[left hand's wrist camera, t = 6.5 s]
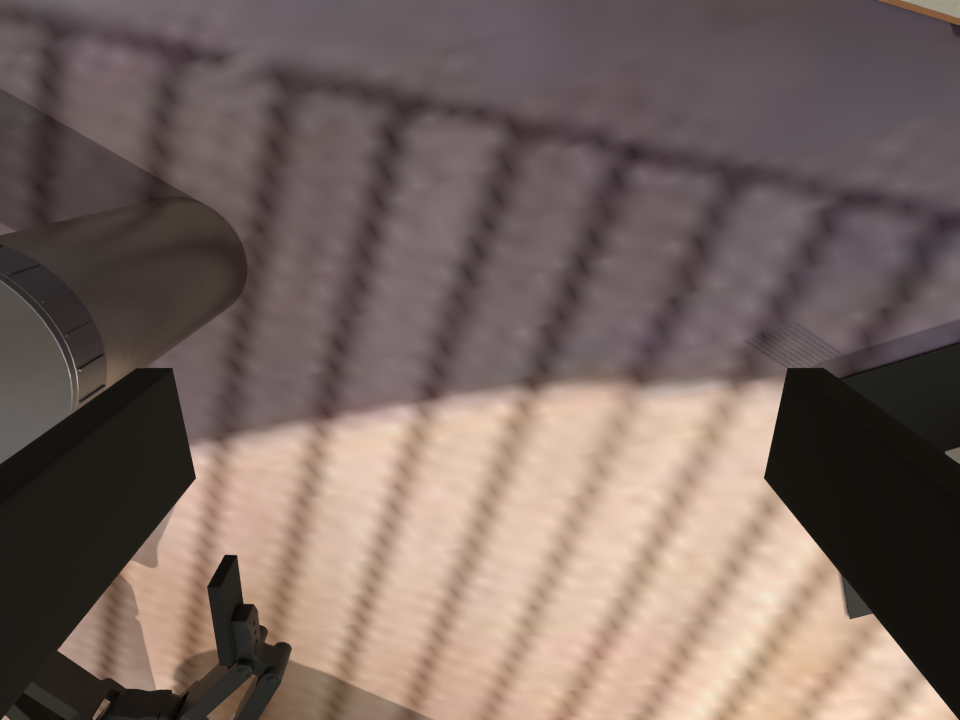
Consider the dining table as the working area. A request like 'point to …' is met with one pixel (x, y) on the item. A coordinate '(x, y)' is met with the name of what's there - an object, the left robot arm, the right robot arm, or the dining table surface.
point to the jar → (143, 273)
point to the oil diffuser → (915, 409)
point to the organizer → (932, 8)
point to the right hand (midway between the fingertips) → (108, 566)
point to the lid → (42, 352)
